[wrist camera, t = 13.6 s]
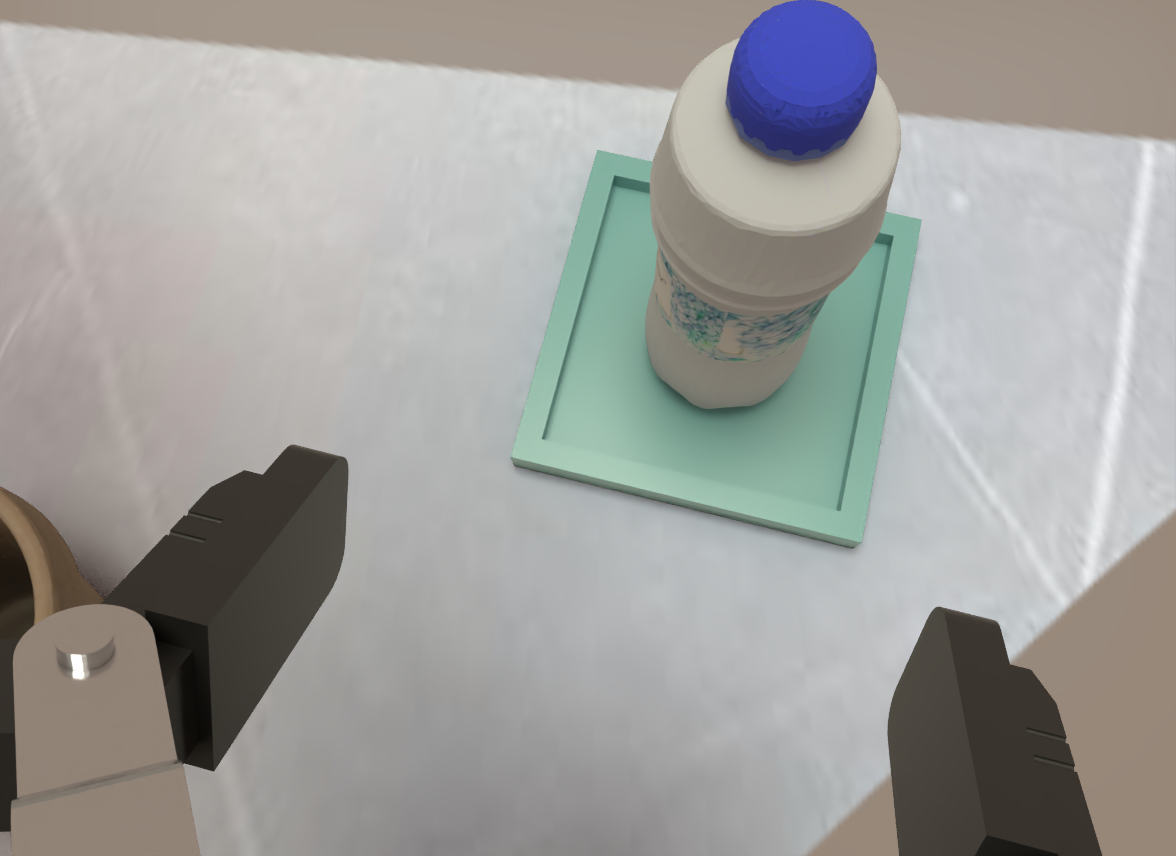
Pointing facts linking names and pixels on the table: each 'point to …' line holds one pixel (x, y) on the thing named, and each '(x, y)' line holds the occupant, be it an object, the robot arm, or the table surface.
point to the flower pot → (35, 569)
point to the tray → (721, 435)
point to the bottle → (765, 199)
